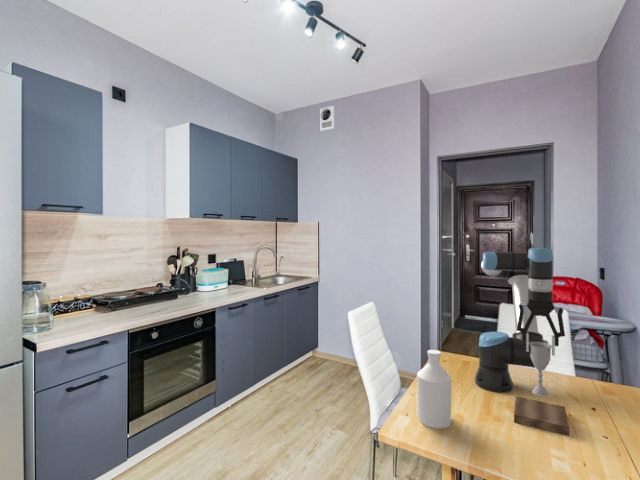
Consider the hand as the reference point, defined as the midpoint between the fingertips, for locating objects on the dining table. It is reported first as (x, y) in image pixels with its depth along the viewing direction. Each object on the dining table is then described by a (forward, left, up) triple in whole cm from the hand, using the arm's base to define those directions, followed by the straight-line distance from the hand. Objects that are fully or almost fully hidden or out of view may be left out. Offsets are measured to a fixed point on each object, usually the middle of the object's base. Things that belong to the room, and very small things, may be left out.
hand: (540, 352), depth 123 cm
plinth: (0, 0, -24) cm, 24 cm away
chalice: (0, 0, -15) cm, 15 cm away
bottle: (-33, -21, -25) cm, 46 cm away
